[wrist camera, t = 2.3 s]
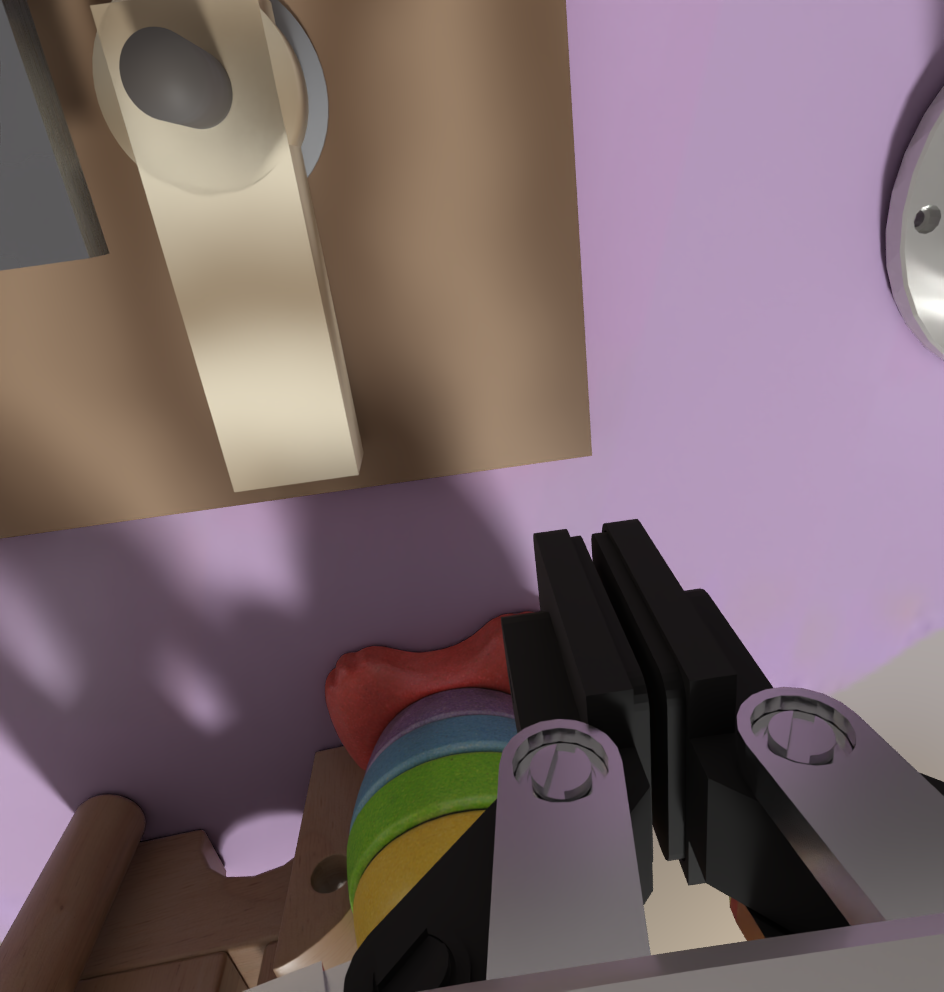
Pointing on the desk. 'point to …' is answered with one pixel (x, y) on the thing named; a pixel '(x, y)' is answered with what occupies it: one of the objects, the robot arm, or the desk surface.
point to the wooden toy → (184, 903)
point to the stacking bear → (417, 757)
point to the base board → (349, 265)
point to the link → (235, 224)
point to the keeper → (38, 158)
